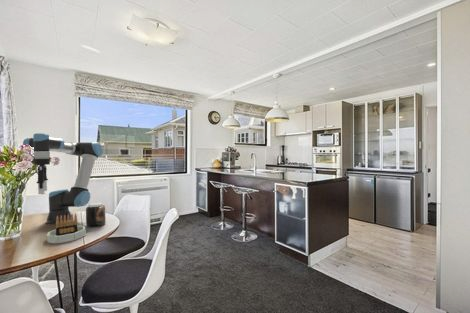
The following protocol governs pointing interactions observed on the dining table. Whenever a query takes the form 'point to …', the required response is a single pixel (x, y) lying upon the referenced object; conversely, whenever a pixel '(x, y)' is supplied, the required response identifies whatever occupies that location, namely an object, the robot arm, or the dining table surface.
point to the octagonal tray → (65, 236)
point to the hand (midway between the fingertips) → (42, 192)
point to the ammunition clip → (66, 225)
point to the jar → (95, 215)
